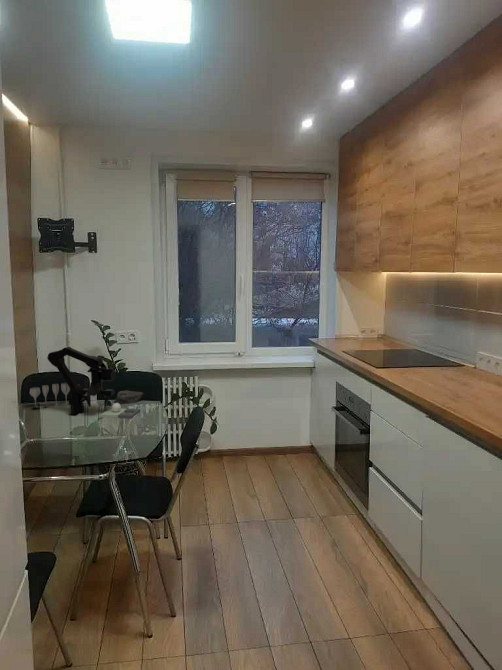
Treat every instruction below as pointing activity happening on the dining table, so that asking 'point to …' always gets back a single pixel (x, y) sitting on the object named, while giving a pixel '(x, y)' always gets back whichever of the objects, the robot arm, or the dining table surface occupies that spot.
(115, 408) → the ball
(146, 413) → the dining table surface
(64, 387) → the goblet set
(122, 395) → the stone
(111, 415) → the panel
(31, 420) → the dining table surface
